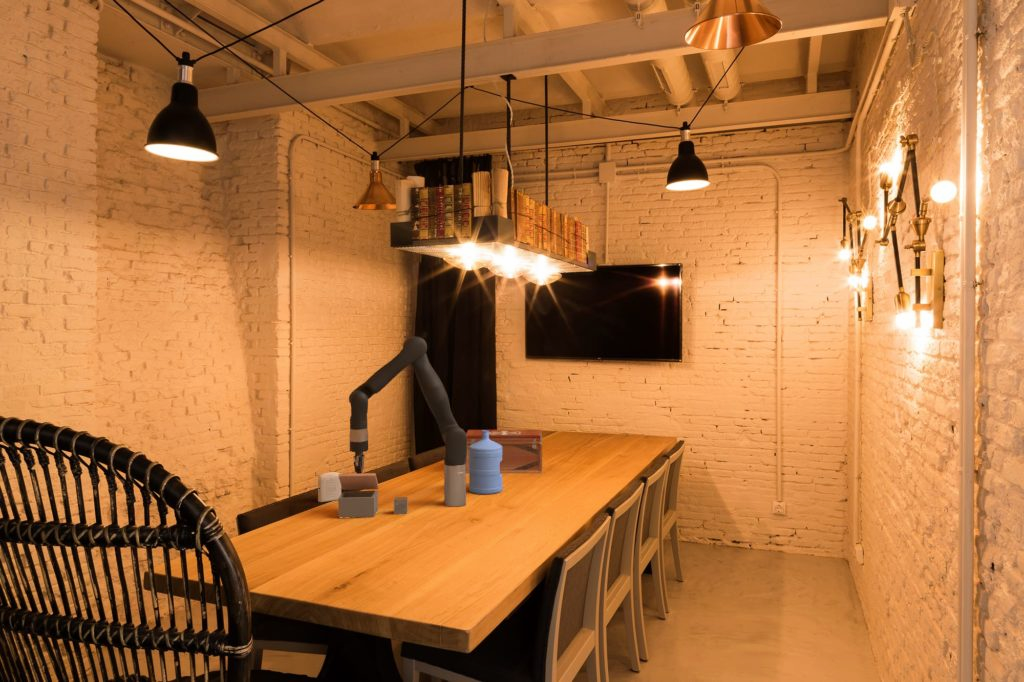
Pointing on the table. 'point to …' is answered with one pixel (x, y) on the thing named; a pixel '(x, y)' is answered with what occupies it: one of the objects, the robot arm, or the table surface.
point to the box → (358, 504)
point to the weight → (400, 505)
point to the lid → (358, 481)
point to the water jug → (485, 466)
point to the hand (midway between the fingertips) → (359, 481)
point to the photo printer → (329, 487)
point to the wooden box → (513, 449)
